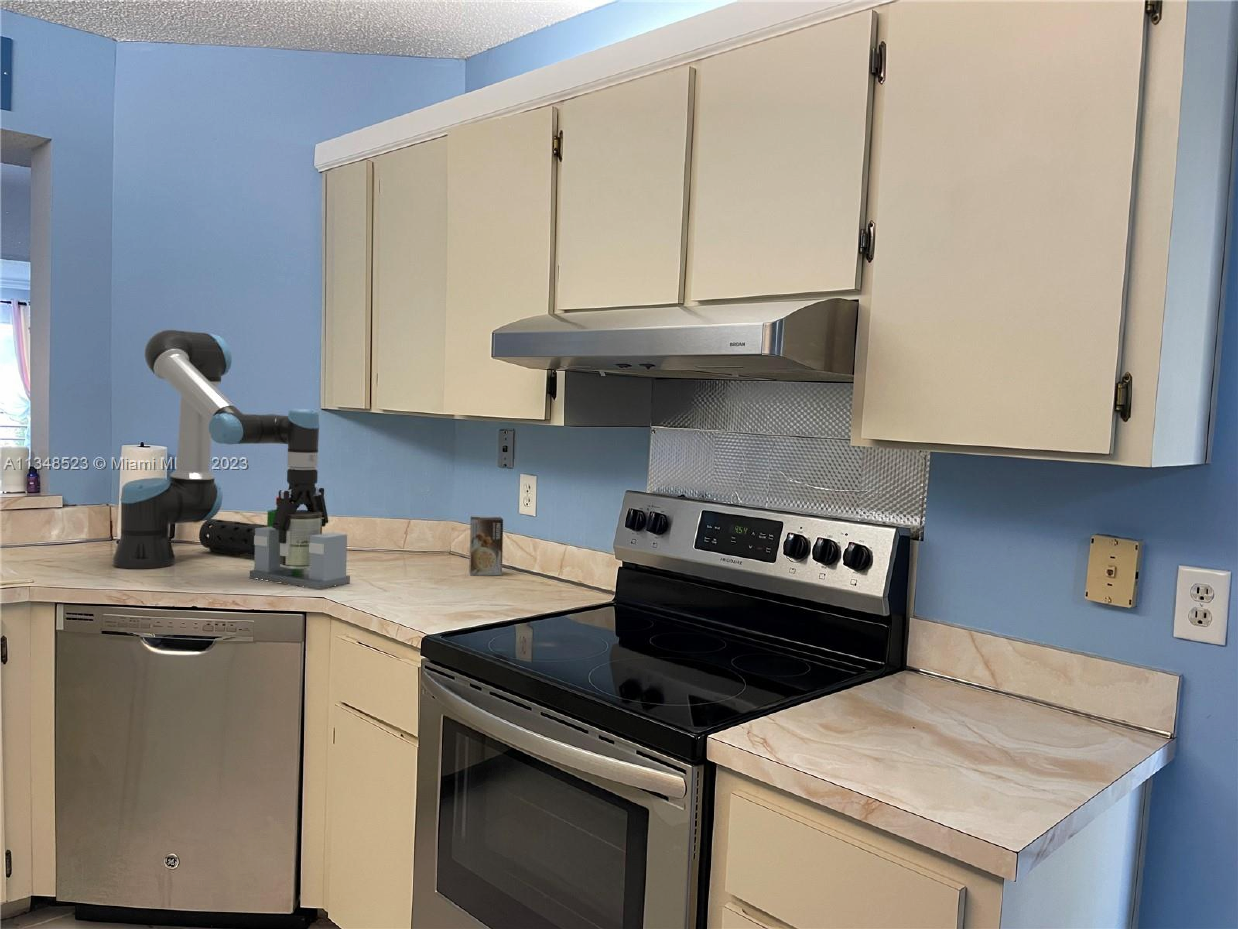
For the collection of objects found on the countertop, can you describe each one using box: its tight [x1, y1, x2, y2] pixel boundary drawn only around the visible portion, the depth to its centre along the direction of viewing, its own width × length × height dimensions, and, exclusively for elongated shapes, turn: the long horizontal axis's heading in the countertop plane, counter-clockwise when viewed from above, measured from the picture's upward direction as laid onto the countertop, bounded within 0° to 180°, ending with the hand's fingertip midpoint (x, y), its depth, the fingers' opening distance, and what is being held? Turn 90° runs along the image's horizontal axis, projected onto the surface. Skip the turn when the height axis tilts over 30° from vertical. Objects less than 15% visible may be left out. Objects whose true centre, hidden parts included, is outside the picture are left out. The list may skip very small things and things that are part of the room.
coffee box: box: [468, 516, 504, 576], centre depth 267 cm, size 9×6×16 cm
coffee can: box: [280, 509, 322, 569], centre depth 244 cm, size 10×10×14 cm
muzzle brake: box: [198, 518, 267, 556], centre depth 277 cm, size 10×28×10 cm, turn 68°
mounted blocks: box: [253, 527, 348, 581], centre depth 244 cm, size 24×8×11 cm, turn 64°
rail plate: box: [249, 569, 351, 590], centre depth 244 cm, size 24×11×2 cm, turn 64°
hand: (300, 553), depth 244 cm, fingers closed on coffee can, 10 cm apart
